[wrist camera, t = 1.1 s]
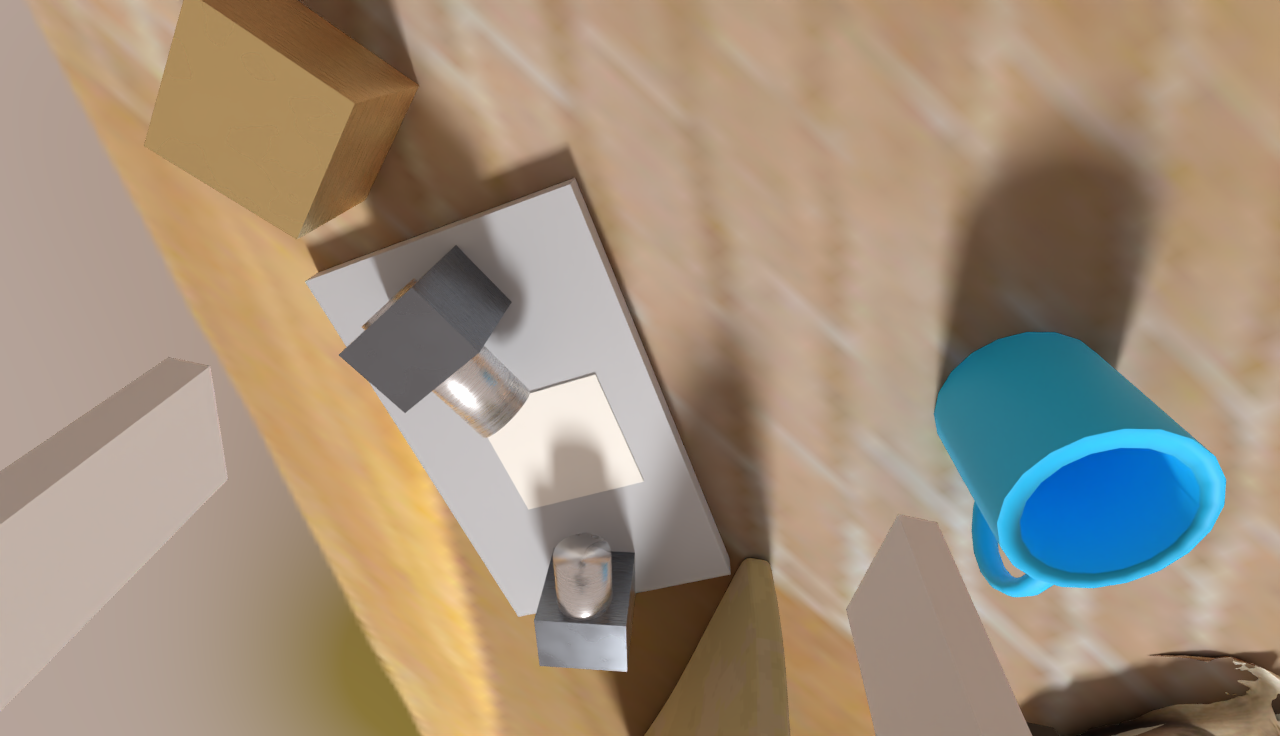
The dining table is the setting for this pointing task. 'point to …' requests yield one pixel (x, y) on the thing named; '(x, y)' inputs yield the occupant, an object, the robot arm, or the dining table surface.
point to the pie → (1210, 713)
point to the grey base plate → (547, 403)
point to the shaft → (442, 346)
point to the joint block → (276, 109)
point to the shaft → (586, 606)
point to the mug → (1071, 467)
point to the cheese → (734, 667)
